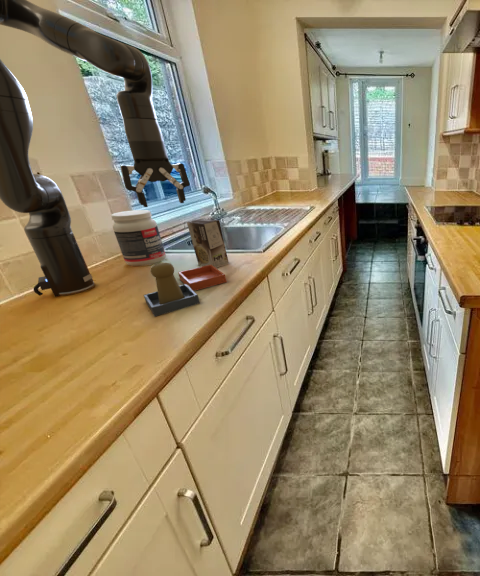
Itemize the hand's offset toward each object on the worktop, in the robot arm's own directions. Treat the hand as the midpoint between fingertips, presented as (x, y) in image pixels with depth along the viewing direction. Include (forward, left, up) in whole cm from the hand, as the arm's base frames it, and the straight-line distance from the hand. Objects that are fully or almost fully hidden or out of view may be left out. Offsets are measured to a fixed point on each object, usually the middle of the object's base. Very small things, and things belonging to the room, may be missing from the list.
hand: (164, 204), depth 87 cm
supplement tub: (-4, +38, -26) cm, 46 cm away
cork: (-6, -8, -25) cm, 27 cm away
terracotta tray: (+5, +3, -25) cm, 26 cm away
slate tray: (-6, -8, -25) cm, 27 cm away
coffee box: (+13, +17, -26) cm, 34 cm away
